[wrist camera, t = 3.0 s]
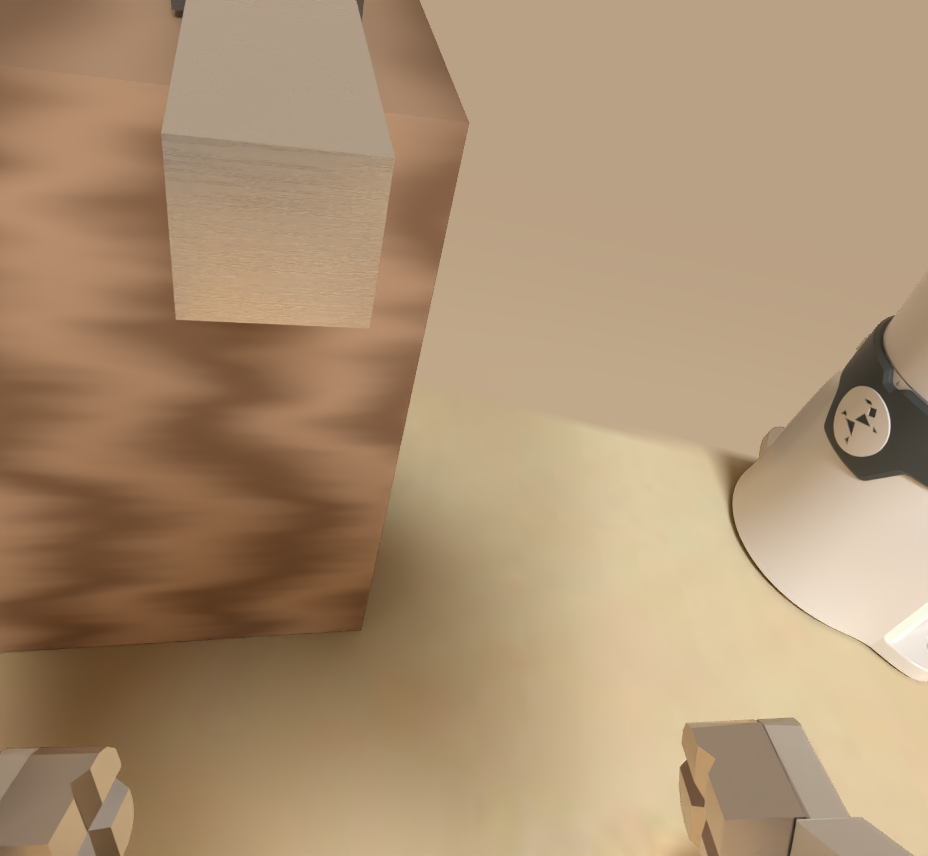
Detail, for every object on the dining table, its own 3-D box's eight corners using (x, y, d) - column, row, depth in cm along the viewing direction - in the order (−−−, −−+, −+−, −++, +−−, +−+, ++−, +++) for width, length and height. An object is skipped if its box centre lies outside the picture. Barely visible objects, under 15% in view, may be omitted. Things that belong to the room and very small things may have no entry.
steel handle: (348, -11, 24) (358, -124, 22) (428, 331, 13) (464, 164, 11) (181, -38, 23) (175, -161, 21) (105, 316, 11) (74, 123, 9)
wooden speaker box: (341, 430, 47) (402, -42, 29) (361, 629, 38) (469, 122, 20) (-158, 425, 40) (-491, -202, 22) (-282, 670, 31) (-1032, -62, 13)
